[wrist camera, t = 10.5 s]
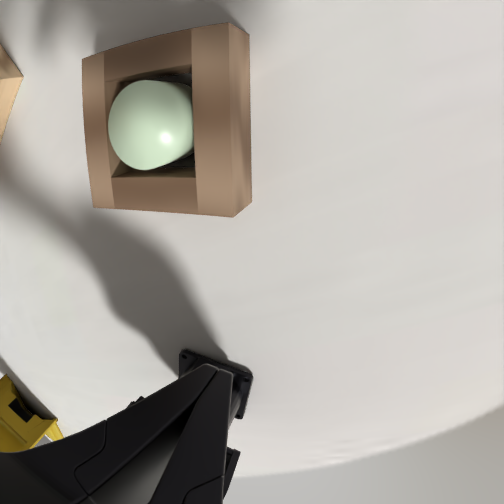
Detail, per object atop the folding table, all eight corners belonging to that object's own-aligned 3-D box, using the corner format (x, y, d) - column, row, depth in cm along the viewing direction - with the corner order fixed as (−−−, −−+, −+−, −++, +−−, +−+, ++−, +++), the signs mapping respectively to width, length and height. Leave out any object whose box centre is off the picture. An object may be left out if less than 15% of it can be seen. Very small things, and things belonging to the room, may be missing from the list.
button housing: (251, 202, 19) (233, 217, 17) (121, 195, 22) (93, 207, 20) (249, 34, 15) (228, 22, 12) (112, 60, 18) (81, 59, 15)
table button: (208, 160, 19) (183, 169, 16) (141, 161, 20) (111, 170, 17) (206, 77, 17) (179, 73, 14) (137, 88, 18) (106, 88, 15)
